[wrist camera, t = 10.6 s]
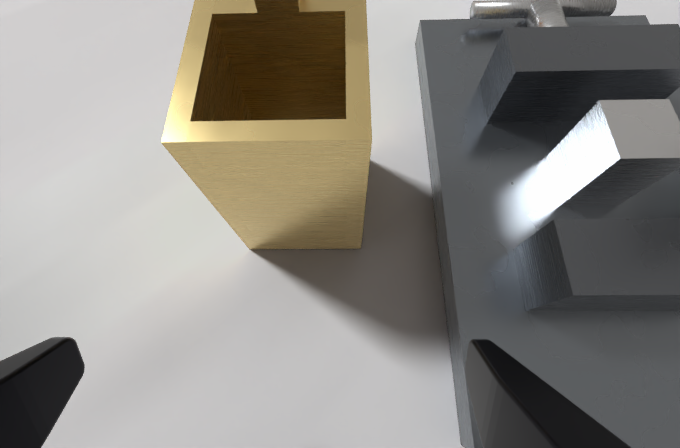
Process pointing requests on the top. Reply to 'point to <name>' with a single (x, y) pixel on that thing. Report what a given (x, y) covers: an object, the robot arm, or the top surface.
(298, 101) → the gold open box
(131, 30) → the top surface
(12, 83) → the top surface
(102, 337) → the top surface
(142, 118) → the top surface
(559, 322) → the grey base plate
